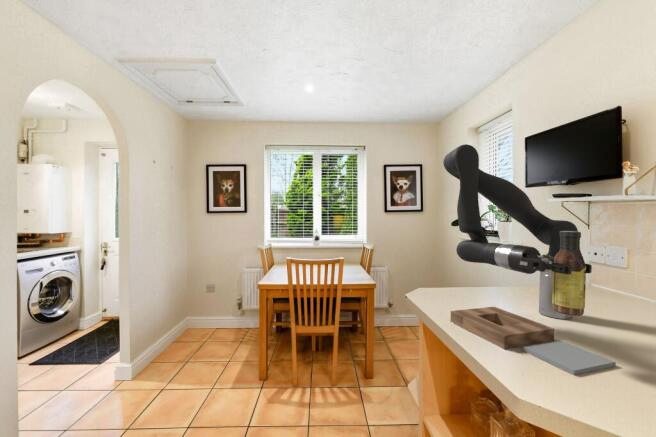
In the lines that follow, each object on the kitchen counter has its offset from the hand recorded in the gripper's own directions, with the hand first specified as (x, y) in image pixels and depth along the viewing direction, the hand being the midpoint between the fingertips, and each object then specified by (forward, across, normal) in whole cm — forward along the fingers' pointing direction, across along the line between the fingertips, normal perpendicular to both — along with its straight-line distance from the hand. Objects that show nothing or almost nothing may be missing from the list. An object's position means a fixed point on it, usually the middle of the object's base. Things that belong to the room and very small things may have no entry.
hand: (580, 269), depth 71 cm
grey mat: (-2, 0, +22) cm, 22 cm away
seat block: (-20, -2, +22) cm, 30 cm away
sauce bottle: (-2, 0, +11) cm, 11 cm away
